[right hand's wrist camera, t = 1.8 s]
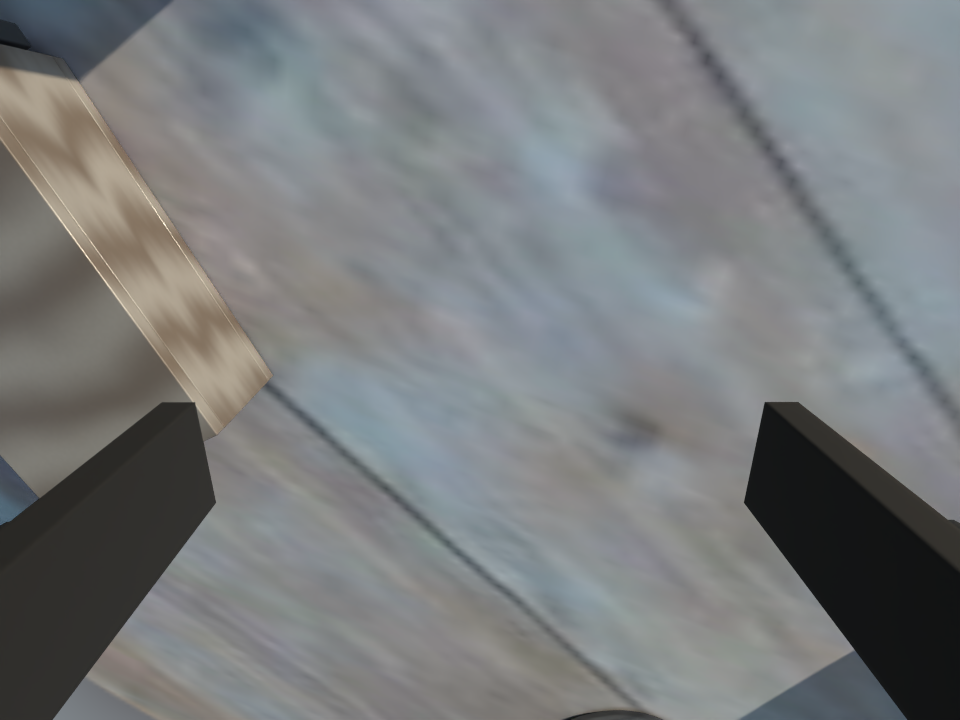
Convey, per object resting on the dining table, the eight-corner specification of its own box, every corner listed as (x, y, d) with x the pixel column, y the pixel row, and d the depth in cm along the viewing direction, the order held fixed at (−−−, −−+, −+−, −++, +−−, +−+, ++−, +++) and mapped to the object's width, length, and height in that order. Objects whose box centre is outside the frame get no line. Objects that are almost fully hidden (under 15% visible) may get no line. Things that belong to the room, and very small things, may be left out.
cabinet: (-90, 153, 31) (-275, 152, 24) (63, 58, 30) (-84, 23, 22) (138, 439, 38) (50, 512, 30) (273, 375, 36) (217, 435, 28)
